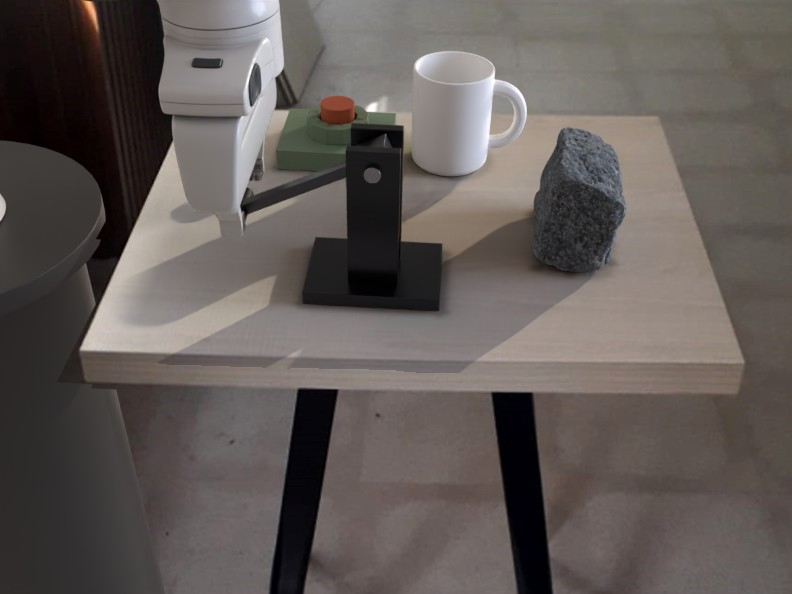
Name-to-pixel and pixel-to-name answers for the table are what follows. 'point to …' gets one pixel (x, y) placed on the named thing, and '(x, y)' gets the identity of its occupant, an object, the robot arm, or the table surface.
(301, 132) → the button block
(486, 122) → the mug
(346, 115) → the stop button
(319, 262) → the lever bracket
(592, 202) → the stone
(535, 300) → the table surface
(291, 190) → the press lever
